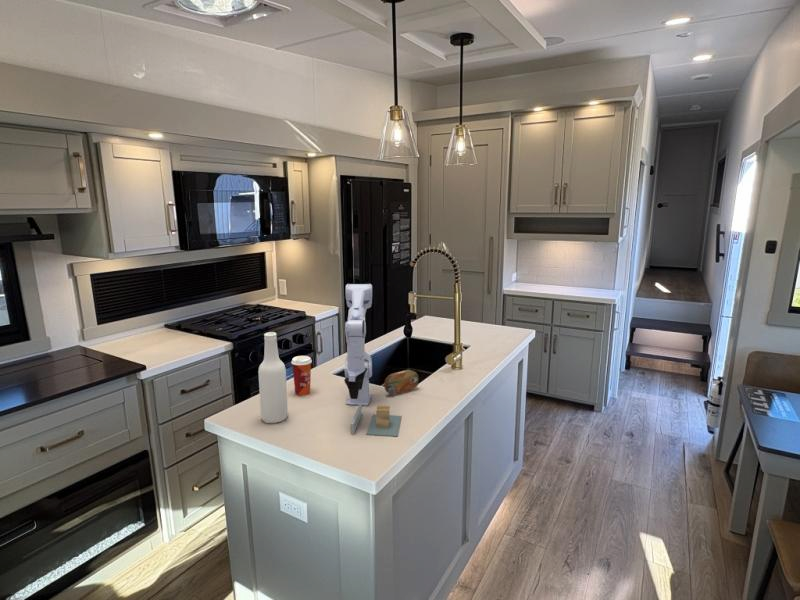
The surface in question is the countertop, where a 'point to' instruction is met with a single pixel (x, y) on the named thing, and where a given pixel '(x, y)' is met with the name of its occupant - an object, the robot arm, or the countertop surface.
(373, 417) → the mat
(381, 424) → the oak block
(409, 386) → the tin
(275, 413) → the alcohol
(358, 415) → the low wall
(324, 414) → the countertop surface
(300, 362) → the paper cup
